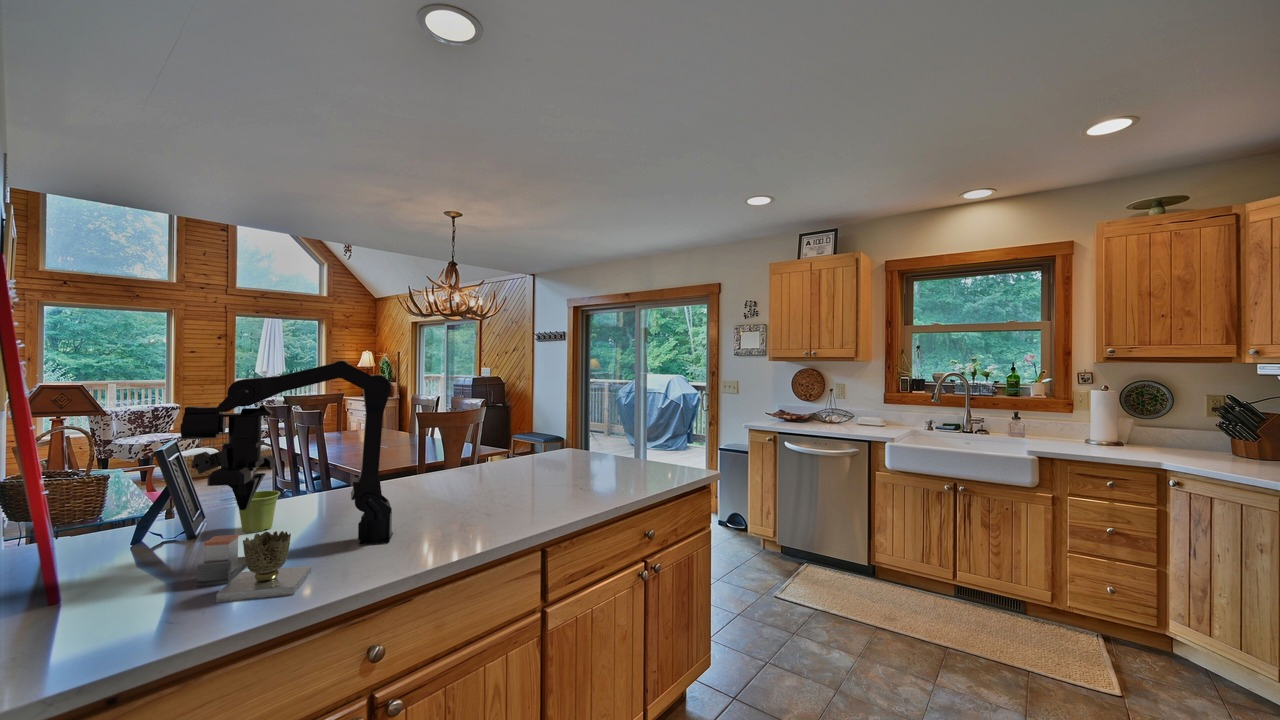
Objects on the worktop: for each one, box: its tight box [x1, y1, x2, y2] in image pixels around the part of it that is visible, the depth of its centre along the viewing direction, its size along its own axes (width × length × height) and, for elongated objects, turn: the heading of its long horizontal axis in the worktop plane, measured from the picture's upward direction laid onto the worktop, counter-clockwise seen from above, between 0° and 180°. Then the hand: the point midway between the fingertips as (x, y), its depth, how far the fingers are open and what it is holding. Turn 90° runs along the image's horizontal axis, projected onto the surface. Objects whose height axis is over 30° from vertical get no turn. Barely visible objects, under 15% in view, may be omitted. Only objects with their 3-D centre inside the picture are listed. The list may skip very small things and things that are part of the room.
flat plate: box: [216, 565, 312, 603], centre depth 99 cm, size 12×10×2 cm
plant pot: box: [233, 490, 281, 534], centre depth 132 cm, size 9×9×9 cm
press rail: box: [196, 556, 248, 587], centre depth 106 cm, size 5×12×4 cm, turn 17°
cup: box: [242, 530, 292, 581], centre depth 100 cm, size 8×7×8 cm
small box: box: [203, 534, 239, 572], centre depth 103 cm, size 4×4×7 cm
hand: (243, 509), depth 113 cm, fingers closed
